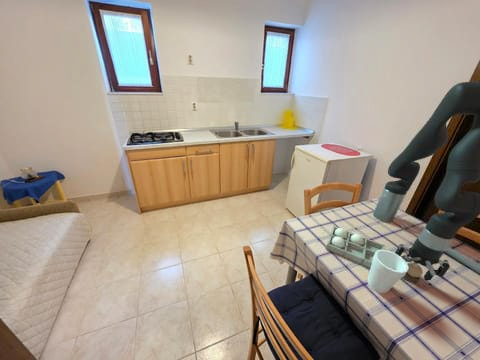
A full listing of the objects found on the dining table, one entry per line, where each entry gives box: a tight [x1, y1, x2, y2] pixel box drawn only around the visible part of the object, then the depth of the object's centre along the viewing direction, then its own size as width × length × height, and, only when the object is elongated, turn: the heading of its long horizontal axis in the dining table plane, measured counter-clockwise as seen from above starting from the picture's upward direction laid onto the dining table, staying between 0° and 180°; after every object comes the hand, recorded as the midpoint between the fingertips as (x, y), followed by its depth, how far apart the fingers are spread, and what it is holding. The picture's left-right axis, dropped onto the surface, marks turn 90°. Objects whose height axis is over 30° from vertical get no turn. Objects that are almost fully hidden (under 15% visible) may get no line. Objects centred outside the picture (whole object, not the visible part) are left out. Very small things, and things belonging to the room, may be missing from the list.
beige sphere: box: [407, 262, 423, 278], centre depth 74 cm, size 5×5×5 cm
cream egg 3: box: [351, 233, 364, 245], centre depth 88 cm, size 5×5×5 cm
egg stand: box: [401, 272, 421, 285], centre depth 75 cm, size 5×5×2 cm
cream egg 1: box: [335, 227, 347, 239], centre depth 91 cm, size 5×5×5 cm
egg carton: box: [325, 226, 386, 269], centre depth 86 cm, size 14×21×3 cm
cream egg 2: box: [332, 237, 344, 248], centre depth 86 cm, size 5×5×5 cm
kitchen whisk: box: [401, 219, 480, 274], centre depth 87 cm, size 6×34×6 cm, turn 26°
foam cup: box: [367, 249, 409, 294], centre depth 69 cm, size 10×9×13 cm
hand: (411, 273), depth 75 cm, fingers open, 8 cm apart
